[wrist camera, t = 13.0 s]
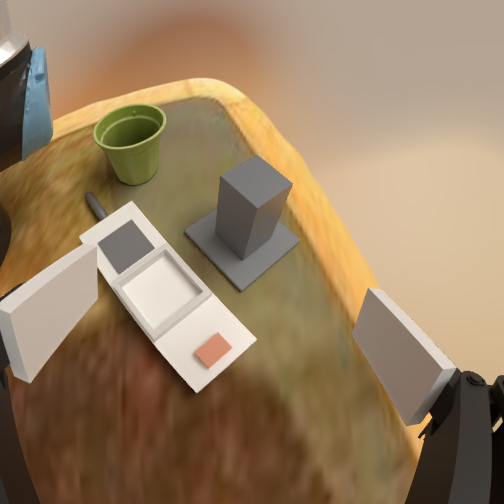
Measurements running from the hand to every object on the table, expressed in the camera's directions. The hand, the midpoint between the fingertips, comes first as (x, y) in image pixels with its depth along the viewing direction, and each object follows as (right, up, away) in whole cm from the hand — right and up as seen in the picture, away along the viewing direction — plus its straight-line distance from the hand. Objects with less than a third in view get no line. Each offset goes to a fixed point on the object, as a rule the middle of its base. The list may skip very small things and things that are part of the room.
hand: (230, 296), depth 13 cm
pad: (0, +4, +23) cm, 23 cm away
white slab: (-11, 0, +18) cm, 22 cm away
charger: (0, +4, +22) cm, 22 cm away
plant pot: (-16, +14, +26) cm, 33 cm away
